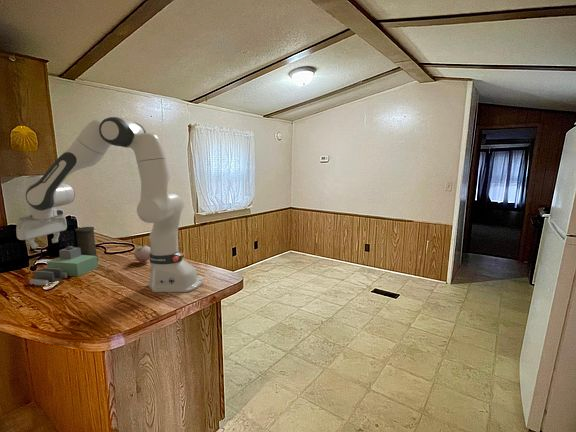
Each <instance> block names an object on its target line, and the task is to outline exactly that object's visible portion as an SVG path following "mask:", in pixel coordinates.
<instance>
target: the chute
mask: <svg viewBox="0 0 576 432" xmlns="http://www.w3.org/2000/svg"><path fill="white" fill-rule="evenodd" d="M33 273H34V274H33V275H34V279H40V280H48V282H55V281H58V282H60V281H62V280H64V278H63V273H62V269H57V268H48V267H43V268H42V270H34V271H33Z"/></svg>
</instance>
